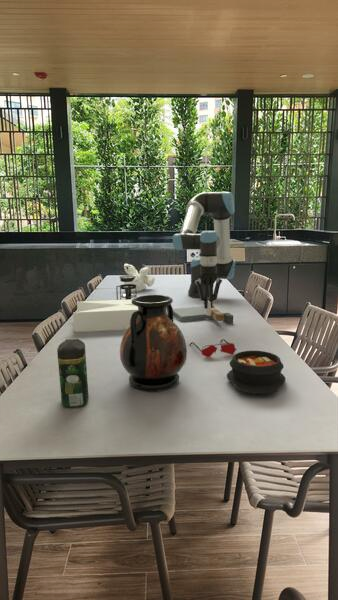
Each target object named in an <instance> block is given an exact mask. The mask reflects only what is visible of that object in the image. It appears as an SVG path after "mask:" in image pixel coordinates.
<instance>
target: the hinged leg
mask: <svg viewBox="0 0 338 600" xmlns="http://www.w3.org/2000/svg"><path fill="white" fill-rule="evenodd" d="M223 313H224V312H221V311H220V310H219V309H217V308H216V307H215V305H213V307H212V308H211V316H212V317H213V319H215V320H216V321H217V322H223V321H224V314H223Z"/></svg>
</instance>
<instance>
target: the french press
mask: <svg viewBox="0 0 338 600" xmlns="http://www.w3.org/2000/svg"><path fill="white" fill-rule="evenodd" d="M129 265H130V264H128V265H126V266H124V265H123V268H124V267H126V269H127V273H126V275H121V276H119V278H120V279H119V280H120V282H121V283H122V282H123V283H122V284H120V285H116V287H115V289H116V300H122V299H124V300H129V299H134V298H135V297H138V296H137V294H136V293H135V294H134V293H132V292H131V289H136V285H135V284H124V282H132V281H133V280H134V279H135V278H136V276H132V275H130V274H128V267H131V266H129ZM126 286H128V287H126ZM131 286H132V287H131ZM118 288H119V292H118ZM122 290H124V291H125V292H124V294H122ZM119 295H120V296H119Z"/></svg>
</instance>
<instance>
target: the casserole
mask: <svg viewBox="0 0 338 600" xmlns="http://www.w3.org/2000/svg"><path fill="white" fill-rule="evenodd" d="M229 366H230V368H231V370H229V371H228V372H227V374H226V379H227V380H228V381H229V382H230V383H232V384H233V385H234V386H235V388H236V389H237V390H239V391H240V392H243V393H248V394H253V395H254V394H259V395H265V394H267V395H268V394H274V393H276V392H278V390H279V389H280V387H281V386H282V385H284V384H285V382H286V381H287V380H286V379H287V378H286V377H285V375H284V374H283V373H282V372H281V371H282V370H283V369H284V364H283V362H282V360H281V358H280V357H279V356H278V355H276V354H274V353H272V352H268V351H264V350H263V351H262V350H244V351H243V350H242V351H238V352H237V353H235V354H233V356H232V359H231V360H230V361H229Z"/></svg>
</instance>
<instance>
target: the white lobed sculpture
mask: <svg viewBox="0 0 338 600" xmlns="http://www.w3.org/2000/svg"><path fill="white" fill-rule="evenodd" d="M126 265H129V266H131V267H128V275H131V276H136V278H135V279H134V280H133V281H132V282H123V284H135V285H136V289H131V293H137V292H142V291H144V290H145V288H146V287H148V288H149V287H152V286H153V285H154V284H155V280H156V279H155V276H151V275H149V272H150V266H148V267H142V268H140V270H139V272H138V270H137V269H136V267H135V266H133V264H129V263H124V265H123V266H126ZM123 268H124V271H125V273H126V274H127V269H126V267H123ZM126 287H128V286H126ZM131 287H132V286H131Z"/></svg>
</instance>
